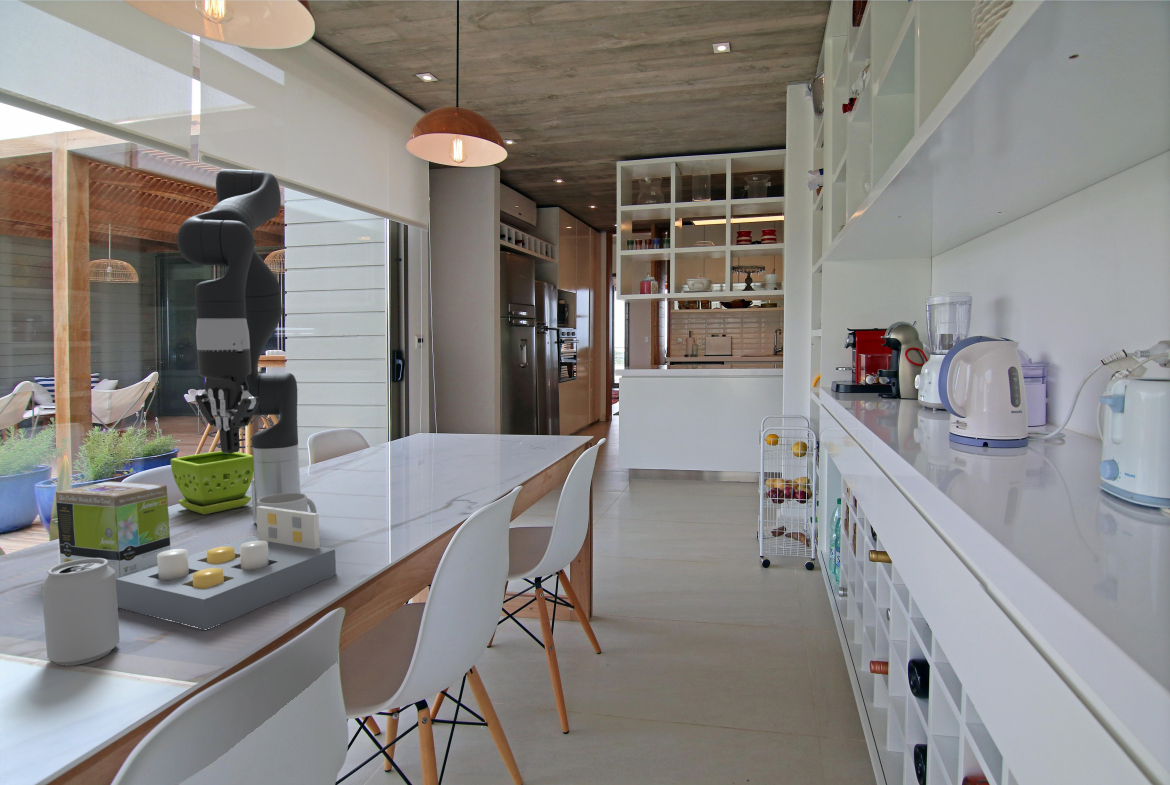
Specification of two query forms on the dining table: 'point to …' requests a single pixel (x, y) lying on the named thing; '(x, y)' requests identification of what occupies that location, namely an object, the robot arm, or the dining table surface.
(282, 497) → the mug
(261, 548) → the cream button
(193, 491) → the flower pot
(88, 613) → the can
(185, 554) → the cream button
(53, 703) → the dining table surface
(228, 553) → the amber button
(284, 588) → the console
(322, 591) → the dining table surface
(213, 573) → the amber button
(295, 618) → the dining table surface
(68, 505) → the tea box
